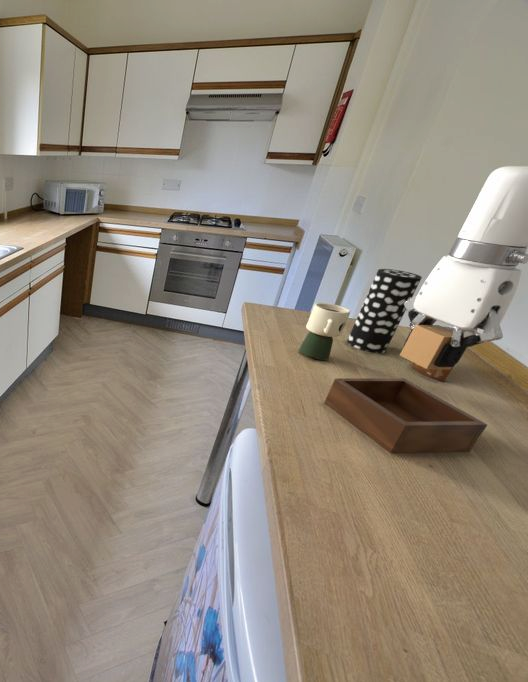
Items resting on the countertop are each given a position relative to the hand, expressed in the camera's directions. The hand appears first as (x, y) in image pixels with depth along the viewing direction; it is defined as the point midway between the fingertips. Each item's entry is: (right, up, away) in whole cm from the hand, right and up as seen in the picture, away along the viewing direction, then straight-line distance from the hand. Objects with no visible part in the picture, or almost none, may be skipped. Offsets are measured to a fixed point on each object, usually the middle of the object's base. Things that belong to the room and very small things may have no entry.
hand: (427, 357), depth 71 cm
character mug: (+3, -1, +32) cm, 32 cm away
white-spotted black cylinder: (+23, +1, +39) cm, 45 cm away
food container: (+27, -4, +28) cm, 39 cm away
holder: (-1, -13, +6) cm, 15 cm away
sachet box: (0, -1, 0) cm, 1 cm away
